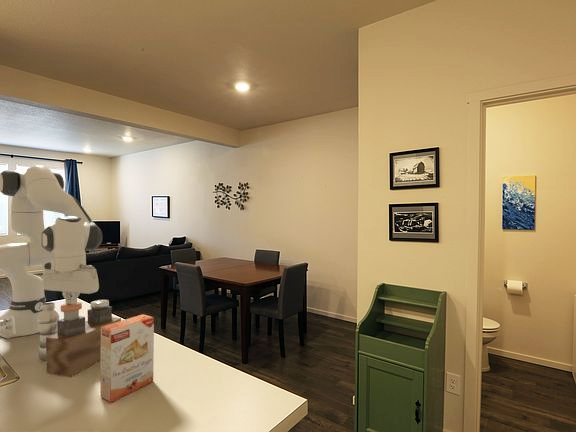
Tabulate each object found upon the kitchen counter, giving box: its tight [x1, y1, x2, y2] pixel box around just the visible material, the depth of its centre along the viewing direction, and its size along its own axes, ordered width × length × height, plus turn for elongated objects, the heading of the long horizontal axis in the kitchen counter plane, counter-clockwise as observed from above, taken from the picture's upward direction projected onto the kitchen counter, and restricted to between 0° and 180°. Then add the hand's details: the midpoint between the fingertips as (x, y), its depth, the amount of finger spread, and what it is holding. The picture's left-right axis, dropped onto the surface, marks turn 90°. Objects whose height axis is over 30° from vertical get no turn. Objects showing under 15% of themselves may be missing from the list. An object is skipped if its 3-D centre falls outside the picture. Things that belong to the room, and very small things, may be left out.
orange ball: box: [60, 301, 83, 321], centre depth 112 cm, size 6×6×6 cm
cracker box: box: [100, 313, 155, 403], centre depth 100 cm, size 14×6×21 cm, turn 148°
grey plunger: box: [89, 299, 110, 310], centre depth 124 cm, size 6×6×6 cm
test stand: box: [46, 305, 122, 378], centre depth 118 cm, size 10×22×17 cm, turn 165°
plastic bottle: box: [37, 301, 60, 361], centre depth 120 cm, size 6×7×20 cm
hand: (71, 304), depth 112 cm, fingers closed, pressing on orange ball
